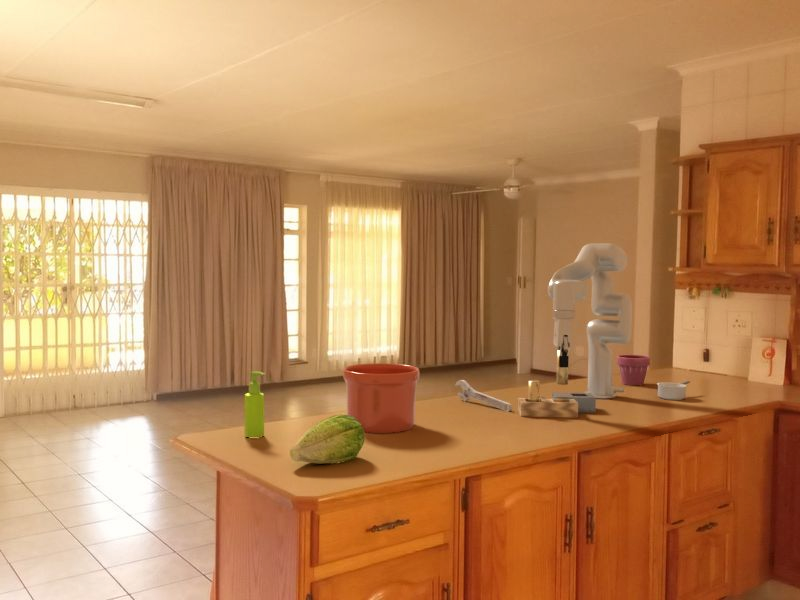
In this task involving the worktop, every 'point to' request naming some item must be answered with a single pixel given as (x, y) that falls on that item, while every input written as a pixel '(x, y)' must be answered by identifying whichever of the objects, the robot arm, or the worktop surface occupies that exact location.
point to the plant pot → (633, 368)
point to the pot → (381, 396)
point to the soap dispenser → (254, 408)
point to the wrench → (480, 396)
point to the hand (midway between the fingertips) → (562, 365)
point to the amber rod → (533, 390)
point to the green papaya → (330, 441)
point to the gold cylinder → (561, 372)
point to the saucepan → (672, 390)
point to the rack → (548, 408)
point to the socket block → (578, 400)
